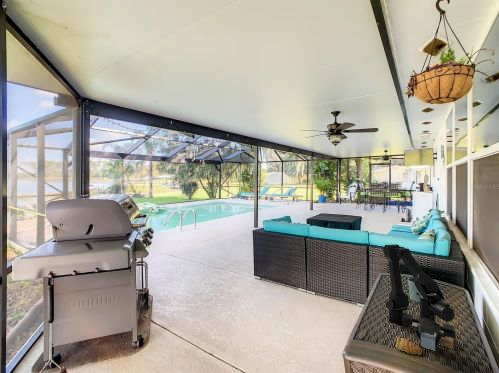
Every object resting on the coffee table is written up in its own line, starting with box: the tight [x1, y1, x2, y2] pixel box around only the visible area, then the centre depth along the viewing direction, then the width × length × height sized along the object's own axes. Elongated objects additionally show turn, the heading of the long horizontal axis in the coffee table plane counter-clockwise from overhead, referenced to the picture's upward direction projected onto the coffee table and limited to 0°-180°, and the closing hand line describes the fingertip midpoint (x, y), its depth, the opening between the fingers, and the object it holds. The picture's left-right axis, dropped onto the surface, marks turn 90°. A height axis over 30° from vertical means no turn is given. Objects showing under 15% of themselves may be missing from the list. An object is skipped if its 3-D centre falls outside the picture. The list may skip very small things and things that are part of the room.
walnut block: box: [434, 333, 454, 350], centre depth 111 cm, size 7×7×4 cm
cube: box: [420, 332, 436, 352], centre depth 108 cm, size 5×5×5 cm
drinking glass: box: [407, 276, 420, 303], centre depth 151 cm, size 10×10×12 cm
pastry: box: [395, 336, 423, 356], centre depth 106 cm, size 9×7×4 cm
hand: (428, 344), depth 108 cm, fingers closed on cube, 5 cm apart
